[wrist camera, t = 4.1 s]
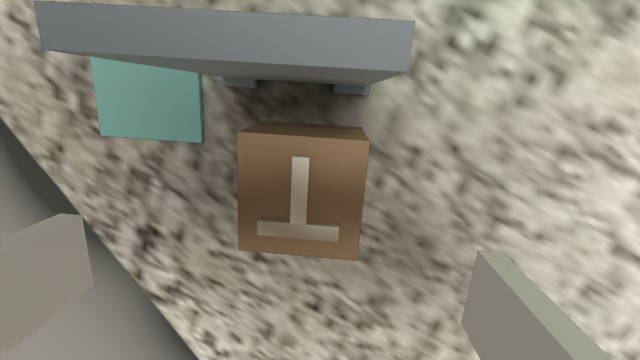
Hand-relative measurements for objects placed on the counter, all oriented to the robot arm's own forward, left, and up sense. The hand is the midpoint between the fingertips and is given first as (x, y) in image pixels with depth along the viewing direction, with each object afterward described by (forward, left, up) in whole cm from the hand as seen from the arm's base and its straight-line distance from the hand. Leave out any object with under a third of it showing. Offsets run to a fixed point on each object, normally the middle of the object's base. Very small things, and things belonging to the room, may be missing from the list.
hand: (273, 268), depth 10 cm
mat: (-6, -12, -14) cm, 19 cm away
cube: (0, 0, -14) cm, 14 cm away
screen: (-7, -2, -14) cm, 15 cm away
